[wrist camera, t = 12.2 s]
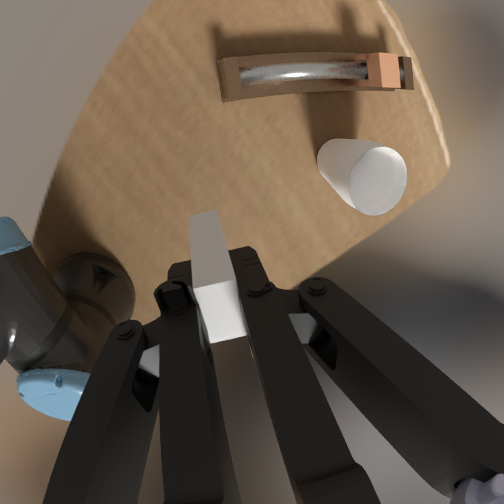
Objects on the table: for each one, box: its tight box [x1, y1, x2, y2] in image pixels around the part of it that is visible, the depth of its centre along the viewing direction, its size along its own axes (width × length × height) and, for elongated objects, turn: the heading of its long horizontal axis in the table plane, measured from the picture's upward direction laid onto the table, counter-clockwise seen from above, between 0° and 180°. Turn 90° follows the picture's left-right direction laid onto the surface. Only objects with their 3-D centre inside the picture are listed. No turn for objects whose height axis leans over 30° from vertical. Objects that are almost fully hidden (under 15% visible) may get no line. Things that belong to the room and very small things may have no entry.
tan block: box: [355, 52, 401, 88], centre depth 32 cm, size 3×5×6 cm, turn 8°
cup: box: [317, 138, 407, 216], centre depth 38 cm, size 9×9×12 cm
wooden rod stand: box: [216, 52, 414, 102], centre depth 34 cm, size 27×6×6 cm, turn 98°
